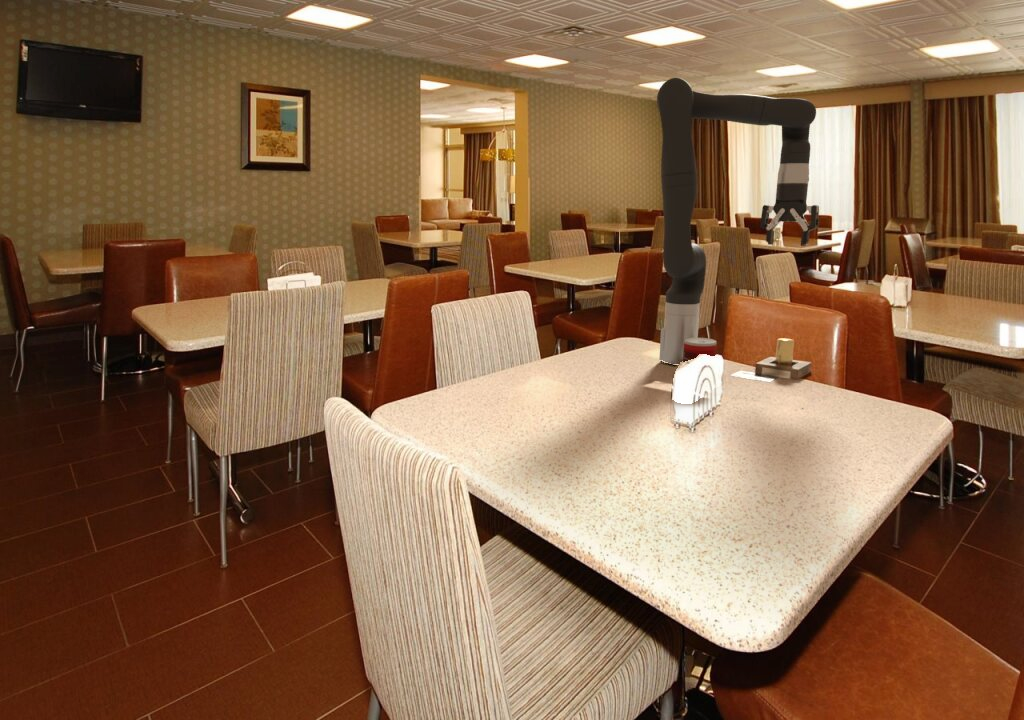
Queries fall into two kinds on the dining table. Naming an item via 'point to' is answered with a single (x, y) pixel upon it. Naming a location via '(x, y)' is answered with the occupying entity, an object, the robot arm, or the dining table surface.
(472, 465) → the dining table surface
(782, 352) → the cylinder
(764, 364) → the grey square socket block
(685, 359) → the canned food
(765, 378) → the white flat slab
